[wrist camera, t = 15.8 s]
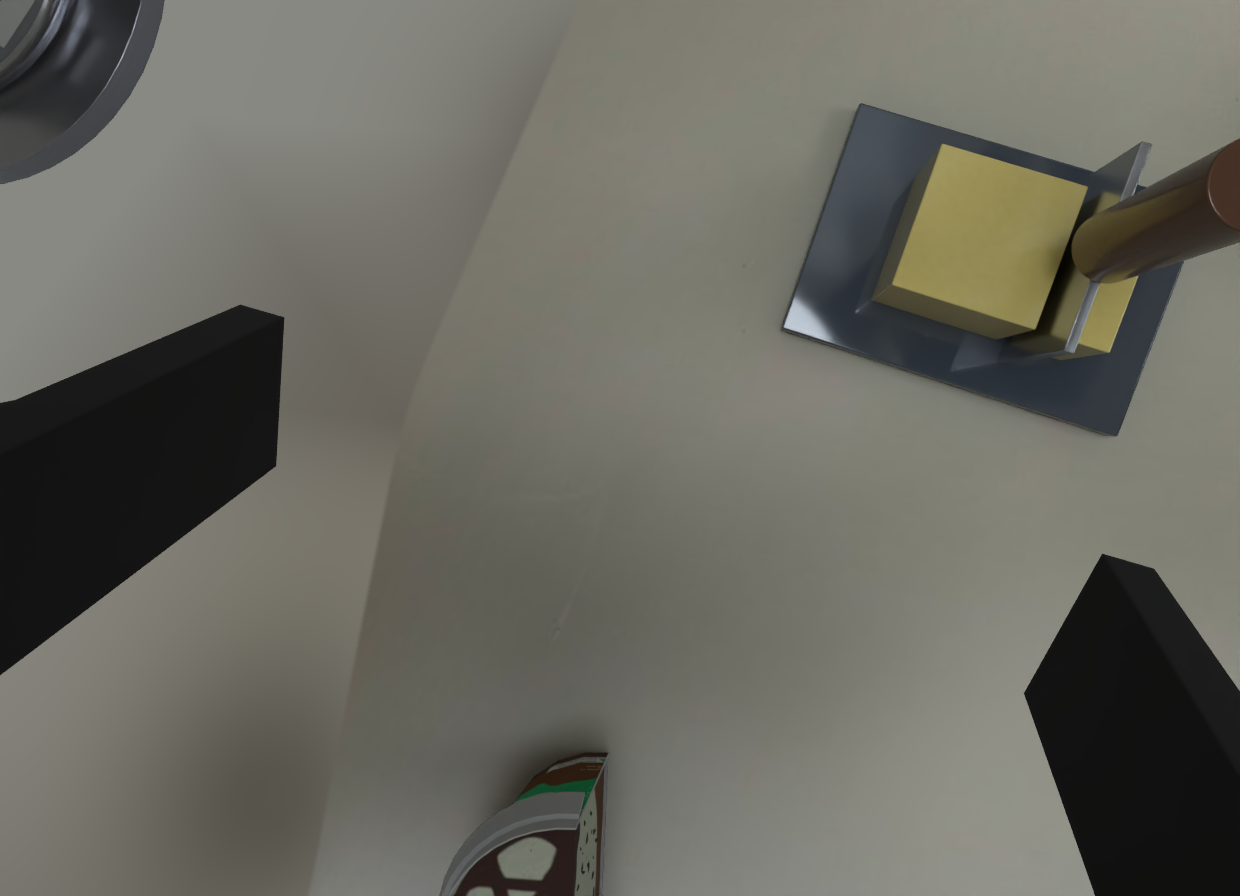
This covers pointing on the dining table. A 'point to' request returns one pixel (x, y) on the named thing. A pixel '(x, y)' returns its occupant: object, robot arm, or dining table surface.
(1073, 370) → the butter dish
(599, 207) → the dining table surface
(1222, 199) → the knife
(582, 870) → the food container
